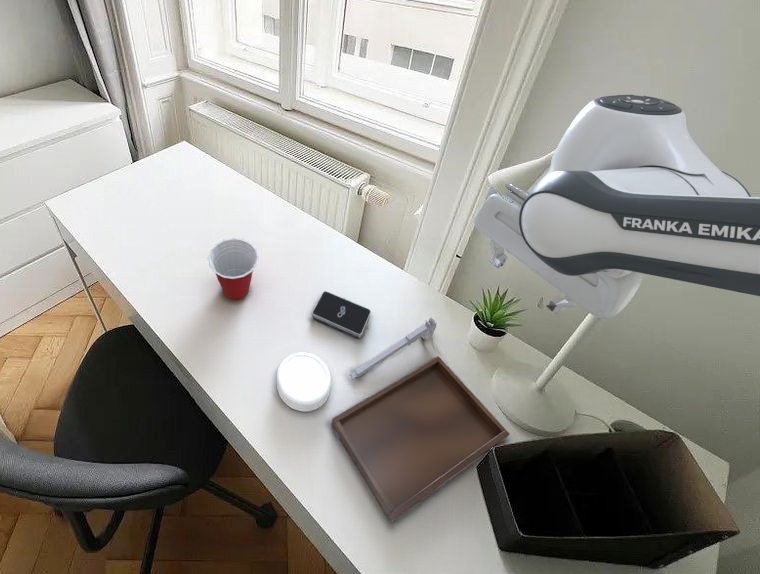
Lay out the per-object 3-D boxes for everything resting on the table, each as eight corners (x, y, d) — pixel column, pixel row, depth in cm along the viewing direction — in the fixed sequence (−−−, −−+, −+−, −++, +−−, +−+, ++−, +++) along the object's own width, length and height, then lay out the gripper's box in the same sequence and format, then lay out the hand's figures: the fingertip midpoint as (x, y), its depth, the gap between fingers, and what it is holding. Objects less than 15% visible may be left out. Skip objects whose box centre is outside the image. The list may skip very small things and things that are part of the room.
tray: (504, 439, 69) (510, 433, 67) (391, 523, 61) (394, 518, 59) (435, 362, 80) (438, 356, 78) (331, 424, 71) (332, 418, 70)
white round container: (286, 419, 72) (286, 411, 70) (270, 368, 80) (270, 358, 77) (338, 403, 74) (340, 394, 72) (317, 354, 82) (319, 345, 79)
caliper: (428, 331, 85) (435, 313, 81) (432, 335, 84) (440, 318, 80) (348, 376, 78) (352, 359, 74) (352, 381, 77) (356, 364, 73)
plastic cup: (223, 317, 89) (218, 283, 81) (206, 282, 96) (201, 247, 89) (267, 299, 92) (267, 264, 84) (248, 266, 100) (246, 231, 92)
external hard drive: (359, 341, 84) (360, 335, 82) (310, 318, 88) (310, 313, 87) (370, 315, 88) (371, 310, 87) (322, 295, 93) (323, 290, 91)
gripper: (480, 180, 58) (453, 247, 66) (639, 281, 43) (577, 349, 52) (511, 167, 60) (480, 234, 69) (671, 260, 46) (607, 329, 54)
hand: (523, 285), depth 60 cm, fingers open, 8 cm apart
